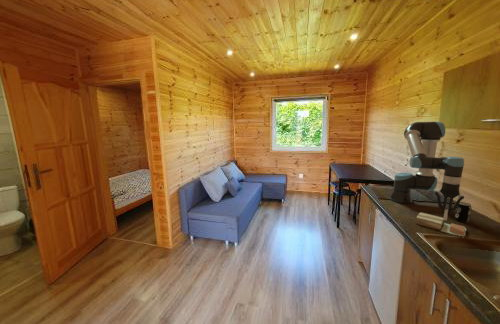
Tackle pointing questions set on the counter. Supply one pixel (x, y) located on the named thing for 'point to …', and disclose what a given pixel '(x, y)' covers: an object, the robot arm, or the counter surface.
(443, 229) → the mat
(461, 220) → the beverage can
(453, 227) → the tile
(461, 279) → the counter surface
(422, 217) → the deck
